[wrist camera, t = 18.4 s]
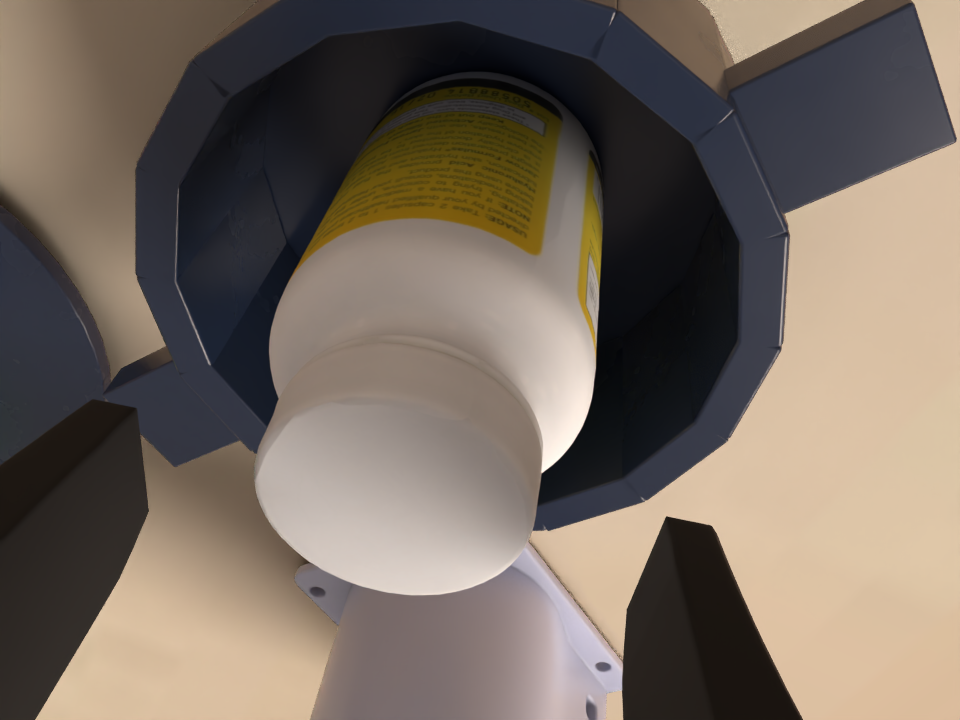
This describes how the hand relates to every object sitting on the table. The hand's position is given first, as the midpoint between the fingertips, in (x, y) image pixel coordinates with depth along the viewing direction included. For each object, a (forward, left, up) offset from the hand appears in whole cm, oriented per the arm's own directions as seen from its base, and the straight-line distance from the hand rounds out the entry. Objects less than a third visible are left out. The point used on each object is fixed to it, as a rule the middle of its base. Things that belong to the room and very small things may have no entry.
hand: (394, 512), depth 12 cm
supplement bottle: (0, 0, -10) cm, 10 cm away
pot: (0, 0, -10) cm, 10 cm away
